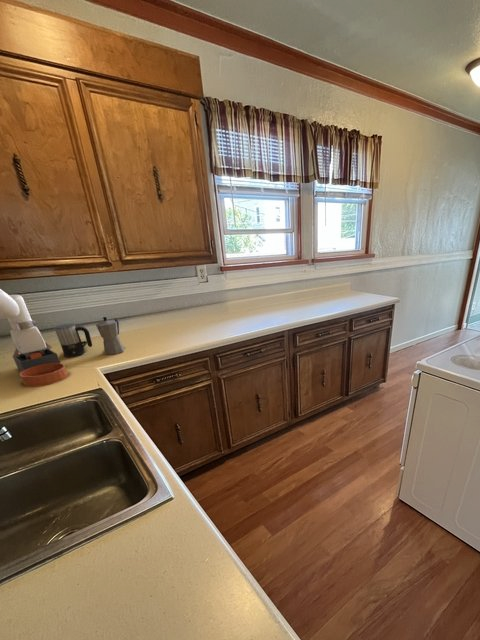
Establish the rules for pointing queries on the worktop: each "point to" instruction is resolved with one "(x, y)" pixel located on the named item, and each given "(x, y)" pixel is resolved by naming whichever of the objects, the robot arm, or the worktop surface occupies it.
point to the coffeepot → (110, 336)
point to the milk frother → (72, 339)
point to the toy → (35, 355)
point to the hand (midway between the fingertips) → (39, 365)
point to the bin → (36, 360)
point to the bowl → (44, 374)
